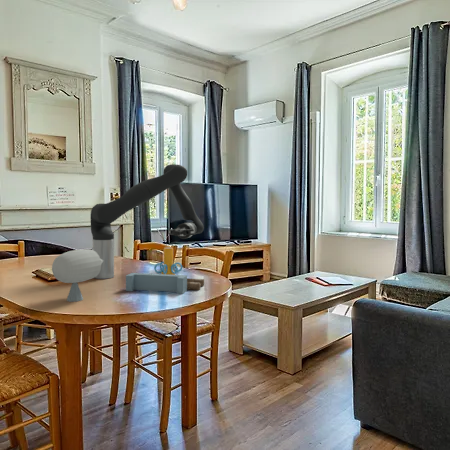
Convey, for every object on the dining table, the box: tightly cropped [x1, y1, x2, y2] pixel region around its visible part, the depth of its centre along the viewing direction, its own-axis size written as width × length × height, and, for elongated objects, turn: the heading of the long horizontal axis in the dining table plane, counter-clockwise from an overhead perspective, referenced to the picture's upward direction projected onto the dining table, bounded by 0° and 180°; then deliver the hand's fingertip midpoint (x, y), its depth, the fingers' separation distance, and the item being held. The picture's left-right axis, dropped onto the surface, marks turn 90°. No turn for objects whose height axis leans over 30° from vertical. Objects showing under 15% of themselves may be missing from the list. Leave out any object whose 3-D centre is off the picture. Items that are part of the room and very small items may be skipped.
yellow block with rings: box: [153, 246, 183, 275], centre depth 173 cm, size 12×10×15 cm
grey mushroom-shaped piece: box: [51, 248, 103, 303], centre depth 143 cm, size 15×20×18 cm
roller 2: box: [187, 282, 202, 291], centre depth 161 cm, size 8×3×3 cm, turn 81°
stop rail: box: [125, 272, 188, 295], centre depth 158 cm, size 23×6×6 cm, turn 81°
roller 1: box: [187, 277, 205, 287], centre depth 168 cm, size 8×3×3 cm
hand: (176, 233), depth 183 cm, fingers closed
